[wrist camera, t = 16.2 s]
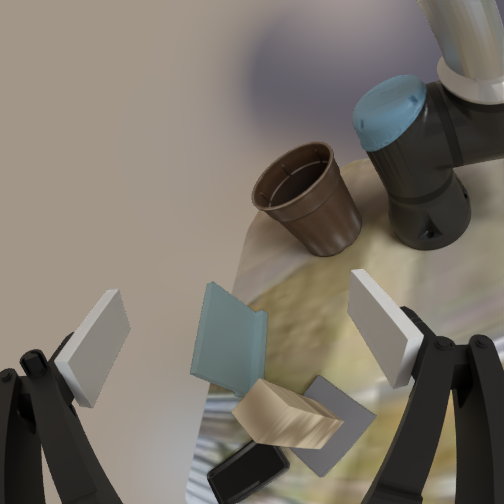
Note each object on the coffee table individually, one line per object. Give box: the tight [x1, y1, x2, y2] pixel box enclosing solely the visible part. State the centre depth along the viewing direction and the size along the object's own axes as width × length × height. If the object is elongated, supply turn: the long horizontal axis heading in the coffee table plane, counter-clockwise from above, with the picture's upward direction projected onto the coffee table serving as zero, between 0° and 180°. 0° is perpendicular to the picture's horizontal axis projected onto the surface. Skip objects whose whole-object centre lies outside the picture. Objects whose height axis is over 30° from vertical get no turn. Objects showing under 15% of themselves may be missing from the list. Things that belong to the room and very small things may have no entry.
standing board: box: [190, 282, 268, 397], centre depth 47 cm, size 5×16×13 cm, turn 175°
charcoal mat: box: [289, 375, 376, 477], centre depth 34 cm, size 11×11×1 cm
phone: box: [207, 440, 290, 504], centre depth 35 cm, size 8×1×15 cm
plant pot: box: [252, 142, 362, 256], centre depth 51 cm, size 16×16×16 cm
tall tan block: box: [231, 378, 344, 449], centre depth 30 cm, size 5×5×14 cm
